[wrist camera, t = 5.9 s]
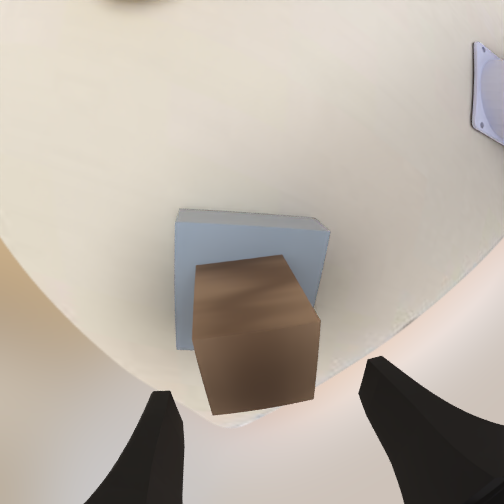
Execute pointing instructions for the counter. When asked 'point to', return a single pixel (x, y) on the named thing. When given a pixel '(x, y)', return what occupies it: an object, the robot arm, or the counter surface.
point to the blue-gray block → (242, 251)
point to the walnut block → (254, 335)
